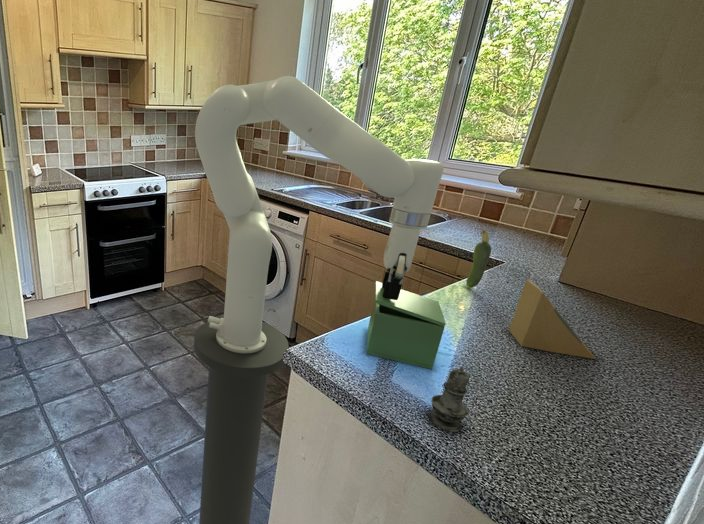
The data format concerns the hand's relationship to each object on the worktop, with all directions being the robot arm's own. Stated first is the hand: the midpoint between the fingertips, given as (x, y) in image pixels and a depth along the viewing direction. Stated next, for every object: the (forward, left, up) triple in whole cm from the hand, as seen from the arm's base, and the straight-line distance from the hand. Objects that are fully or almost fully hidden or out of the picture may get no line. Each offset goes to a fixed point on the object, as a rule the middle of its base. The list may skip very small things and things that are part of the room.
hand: (389, 292), depth 94 cm
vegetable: (+28, +50, -14) cm, 59 cm away
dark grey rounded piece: (+11, -23, -14) cm, 29 cm away
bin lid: (+4, 0, -2) cm, 4 cm away
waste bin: (+4, 0, -14) cm, 15 cm away
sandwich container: (+40, +20, -14) cm, 47 cm away
